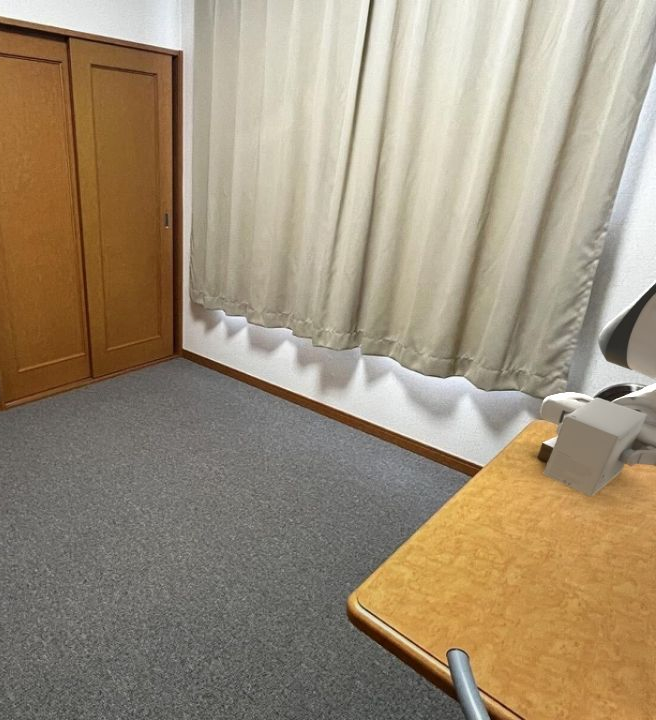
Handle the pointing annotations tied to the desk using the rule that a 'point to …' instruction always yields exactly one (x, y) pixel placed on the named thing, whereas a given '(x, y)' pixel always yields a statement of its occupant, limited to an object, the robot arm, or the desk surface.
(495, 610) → the desk surface
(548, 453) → the dark bridge stand
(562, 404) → the robot arm
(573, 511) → the desk surface
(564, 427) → the cosmetics box
